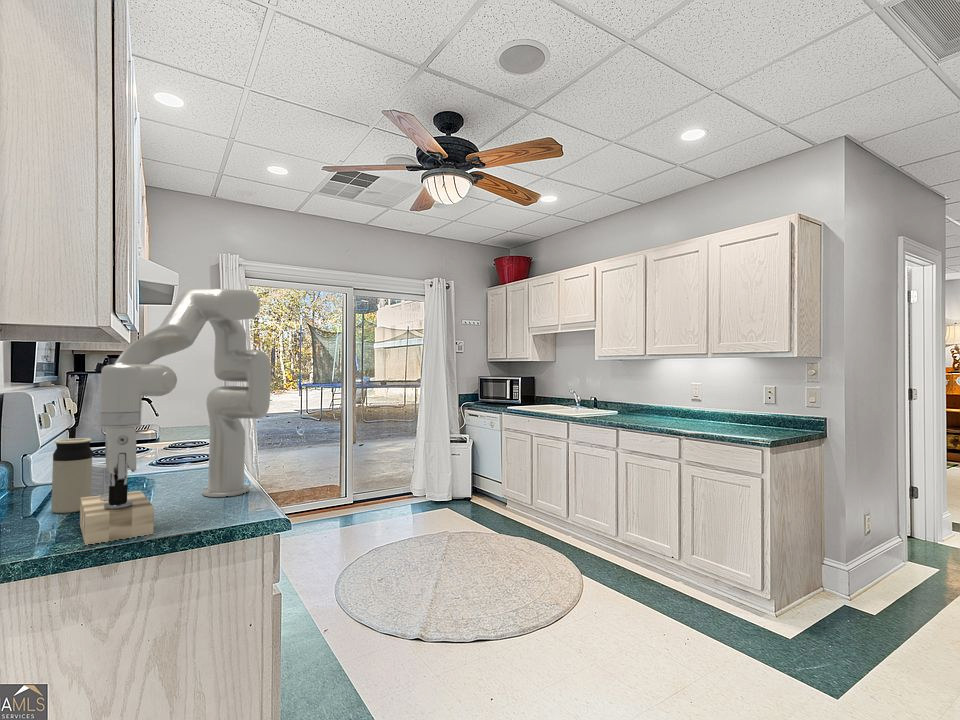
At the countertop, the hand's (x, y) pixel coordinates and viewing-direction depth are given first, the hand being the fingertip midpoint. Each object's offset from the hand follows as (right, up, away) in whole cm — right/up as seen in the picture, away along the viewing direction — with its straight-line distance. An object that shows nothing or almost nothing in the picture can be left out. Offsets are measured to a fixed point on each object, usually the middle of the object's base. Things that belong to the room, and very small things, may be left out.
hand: (117, 503), depth 114 cm
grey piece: (0, -7, 0) cm, 7 cm away
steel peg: (-7, -7, +8) cm, 12 cm away
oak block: (-3, -7, +4) cm, 9 cm away
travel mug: (-25, -7, +19) cm, 33 cm away
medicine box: (-30, -8, +35) cm, 47 cm away
